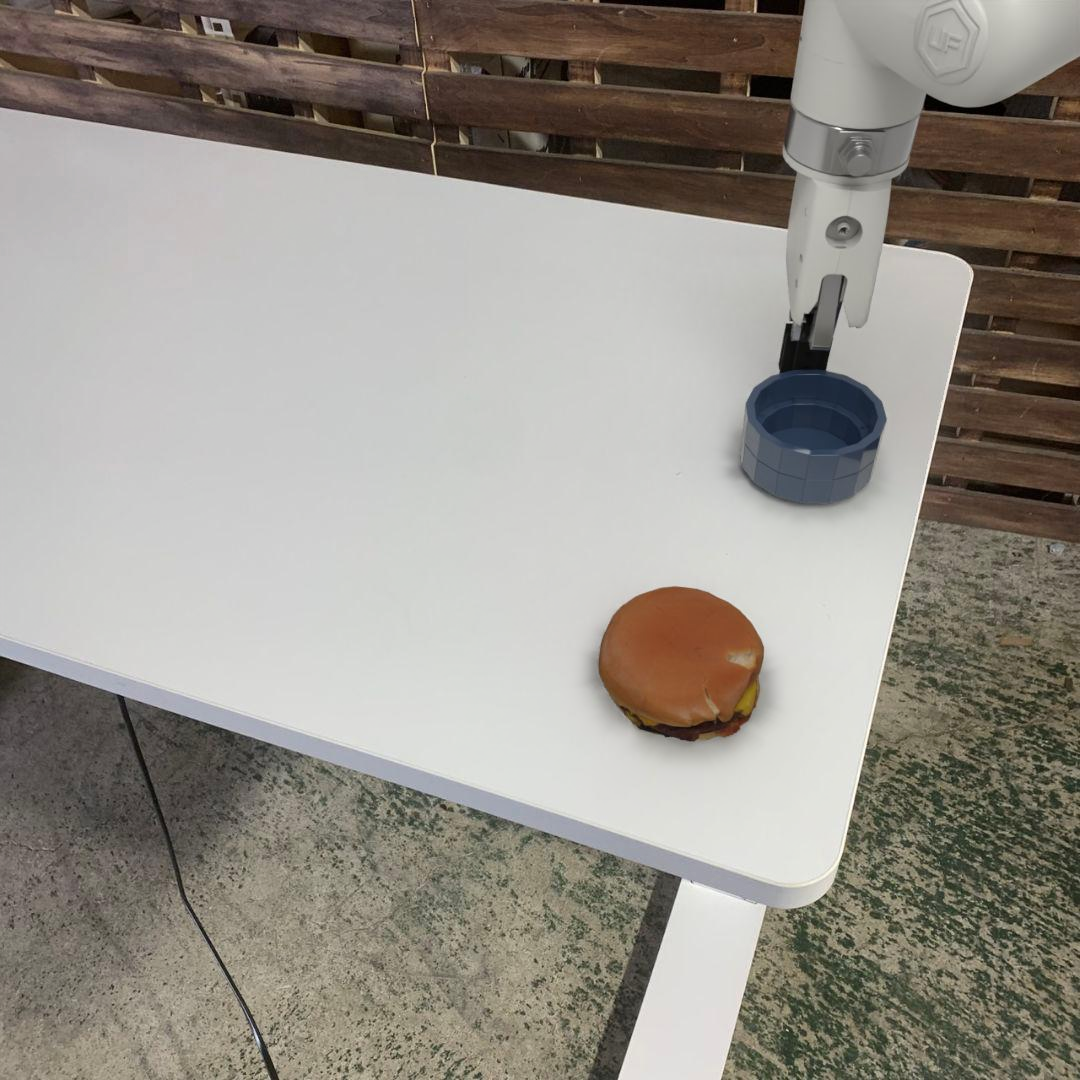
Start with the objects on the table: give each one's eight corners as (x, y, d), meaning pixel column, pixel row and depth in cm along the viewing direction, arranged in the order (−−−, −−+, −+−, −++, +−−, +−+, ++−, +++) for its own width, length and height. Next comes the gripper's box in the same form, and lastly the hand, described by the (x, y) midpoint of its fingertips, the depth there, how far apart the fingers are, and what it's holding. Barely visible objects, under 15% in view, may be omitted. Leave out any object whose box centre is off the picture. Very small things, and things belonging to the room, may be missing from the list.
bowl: (860, 423, 72) (873, 368, 69) (882, 510, 66) (897, 455, 62) (735, 423, 73) (741, 369, 70) (745, 509, 67) (752, 455, 63)
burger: (602, 615, 61) (602, 566, 58) (753, 620, 60) (761, 570, 57) (595, 753, 55) (594, 706, 51) (764, 761, 54) (774, 714, 50)
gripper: (932, 196, 53) (862, 446, 67) (898, 79, 63) (843, 317, 76) (792, 193, 54) (751, 440, 67) (780, 78, 64) (746, 314, 77)
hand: (800, 374), depth 72 cm, fingers closed
